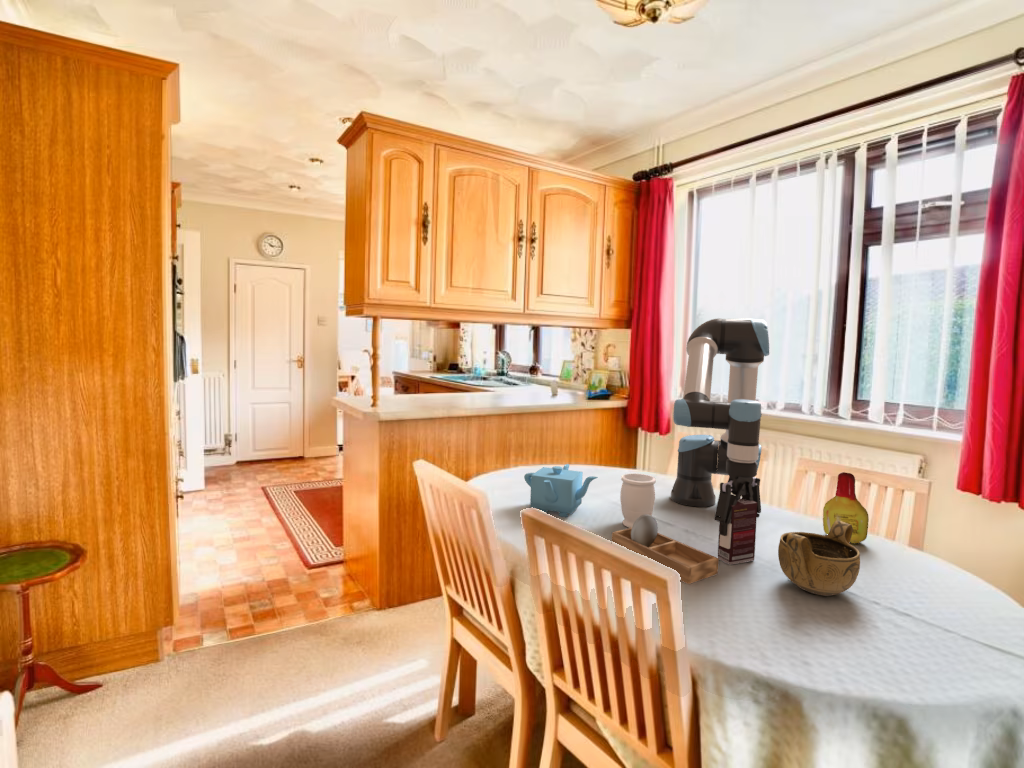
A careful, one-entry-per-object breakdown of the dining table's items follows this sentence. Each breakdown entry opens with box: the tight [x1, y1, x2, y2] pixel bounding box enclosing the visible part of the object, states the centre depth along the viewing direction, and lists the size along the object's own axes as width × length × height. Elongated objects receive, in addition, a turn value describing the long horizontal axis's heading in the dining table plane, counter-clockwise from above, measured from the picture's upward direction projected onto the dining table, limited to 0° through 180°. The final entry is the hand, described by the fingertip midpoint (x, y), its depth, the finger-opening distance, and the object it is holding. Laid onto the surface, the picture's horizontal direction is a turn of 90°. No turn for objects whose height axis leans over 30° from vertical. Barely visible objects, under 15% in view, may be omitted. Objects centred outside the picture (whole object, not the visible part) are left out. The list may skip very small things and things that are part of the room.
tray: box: [611, 514, 720, 585], centre depth 145 cm, size 11×26×10 cm, turn 33°
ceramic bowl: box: [777, 521, 861, 597], centre depth 130 cm, size 22×17×15 cm
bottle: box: [822, 471, 870, 544], centre depth 162 cm, size 12×6×20 cm, turn 32°
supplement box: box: [717, 497, 757, 566], centre depth 146 cm, size 9×5×16 cm, turn 112°
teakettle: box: [524, 463, 598, 518], centre depth 182 cm, size 19×19×15 cm
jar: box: [619, 473, 656, 528], centre depth 170 cm, size 11×10×15 cm
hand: (736, 543), depth 146 cm, fingers closed on supplement box, 9 cm apart
